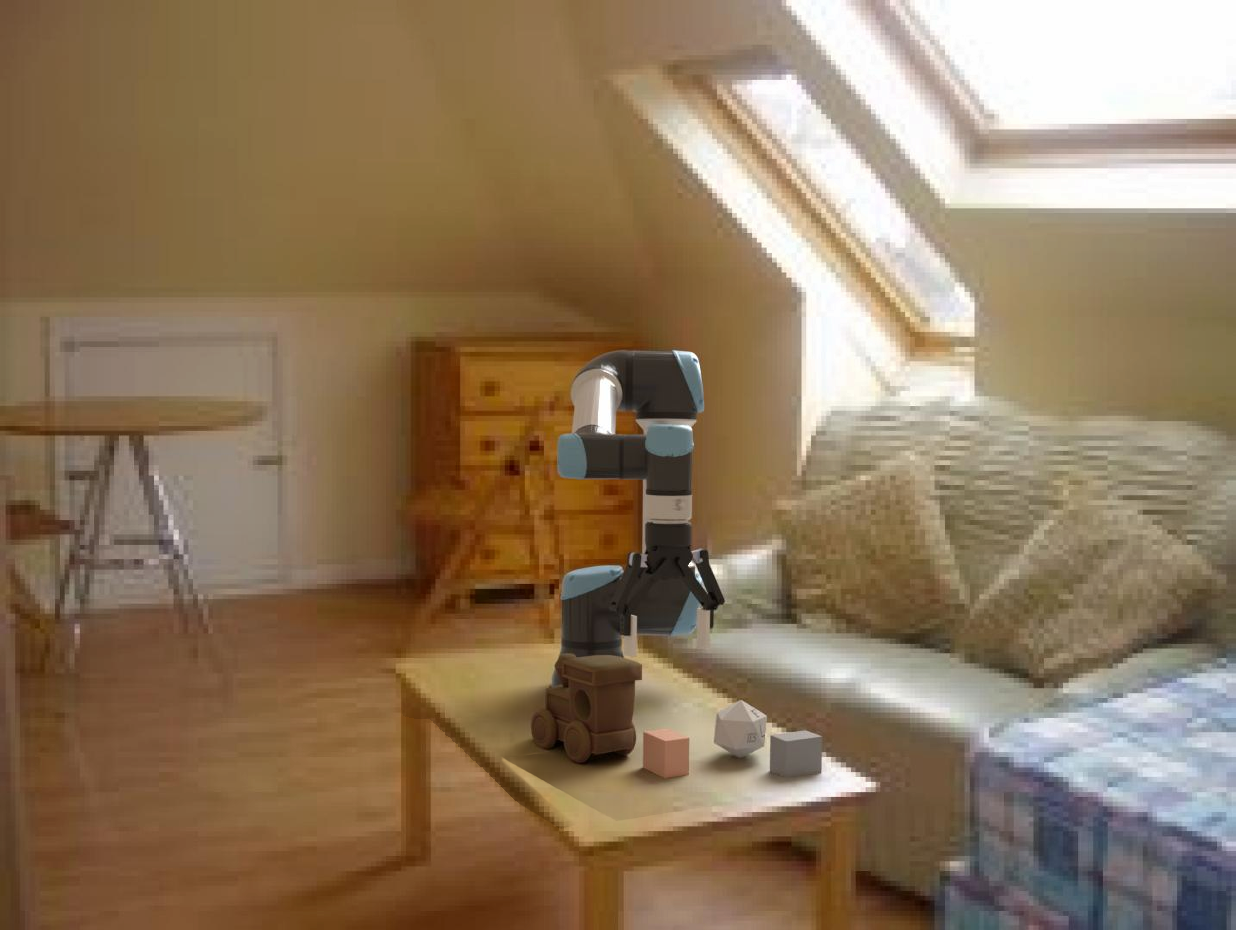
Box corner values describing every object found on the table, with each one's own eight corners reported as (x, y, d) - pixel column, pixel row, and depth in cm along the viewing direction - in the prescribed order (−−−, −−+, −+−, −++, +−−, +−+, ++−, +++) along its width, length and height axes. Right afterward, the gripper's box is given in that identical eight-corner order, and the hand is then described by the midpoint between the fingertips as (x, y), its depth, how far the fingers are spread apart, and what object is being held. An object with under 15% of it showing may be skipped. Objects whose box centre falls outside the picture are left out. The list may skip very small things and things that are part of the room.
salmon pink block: (642, 768, 245) (643, 731, 245) (666, 764, 248) (667, 728, 247) (664, 778, 239) (665, 741, 239) (688, 775, 241) (689, 738, 241)
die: (752, 768, 245) (753, 707, 245) (704, 760, 250) (704, 701, 250) (775, 757, 253) (776, 698, 252) (728, 749, 257) (728, 692, 257)
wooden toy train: (646, 761, 249) (647, 662, 248) (589, 771, 243) (589, 669, 242) (579, 736, 266) (580, 643, 265) (524, 745, 259) (525, 649, 258)
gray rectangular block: (769, 771, 244) (770, 735, 243) (805, 766, 247) (805, 730, 247) (785, 778, 240) (786, 741, 239) (821, 773, 243) (822, 736, 243)
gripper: (611, 526, 231) (610, 662, 233) (746, 520, 243) (744, 650, 245) (588, 521, 238) (587, 654, 239) (721, 516, 250) (720, 642, 251)
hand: (667, 652), depth 242 cm, fingers open, 13 cm apart
